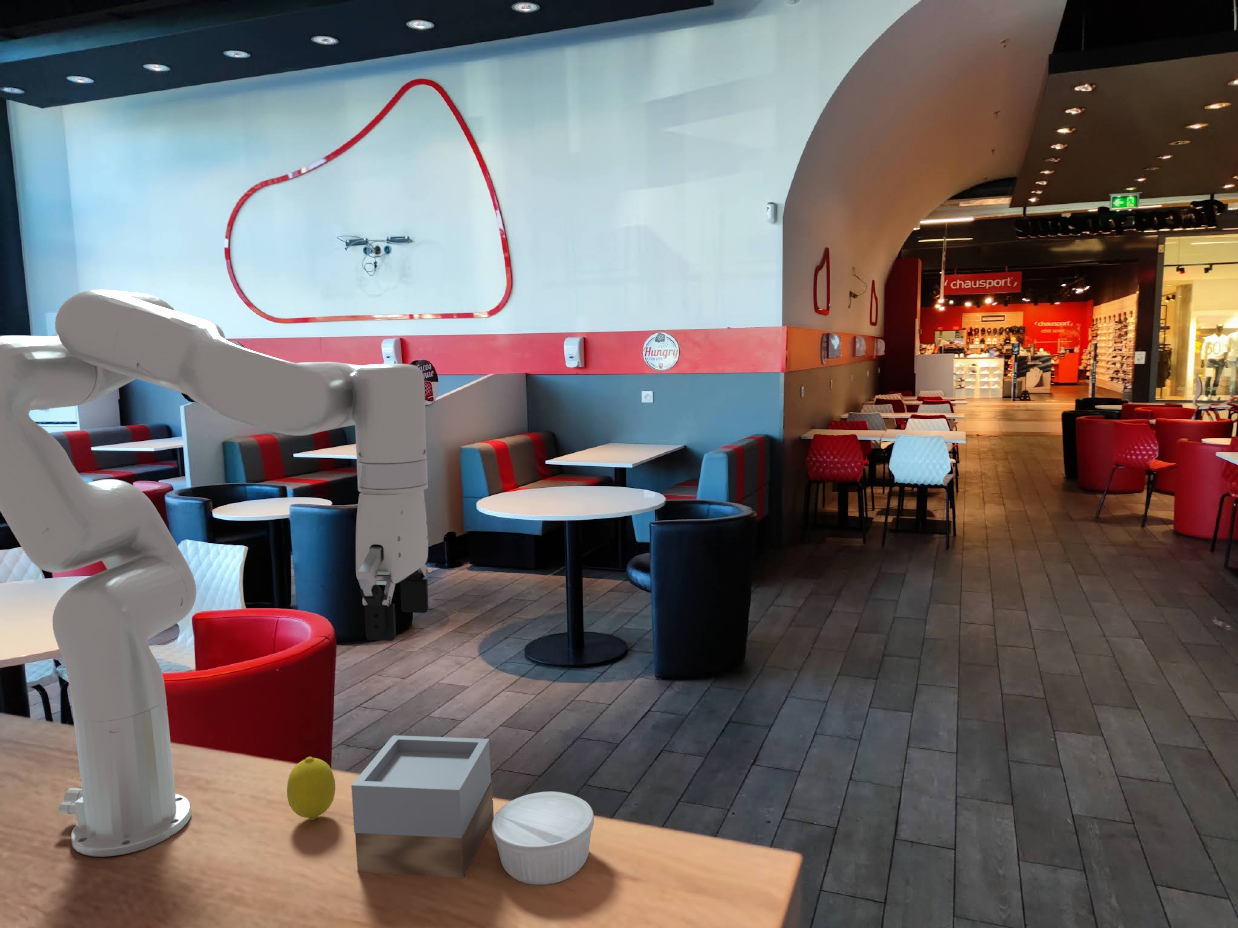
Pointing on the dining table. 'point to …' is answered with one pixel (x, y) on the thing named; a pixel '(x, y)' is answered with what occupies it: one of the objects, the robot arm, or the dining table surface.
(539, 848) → the ramekin
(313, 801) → the lemon
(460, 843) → the tower bottom block
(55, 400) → the robot arm
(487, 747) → the tower top block
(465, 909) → the dining table surface
